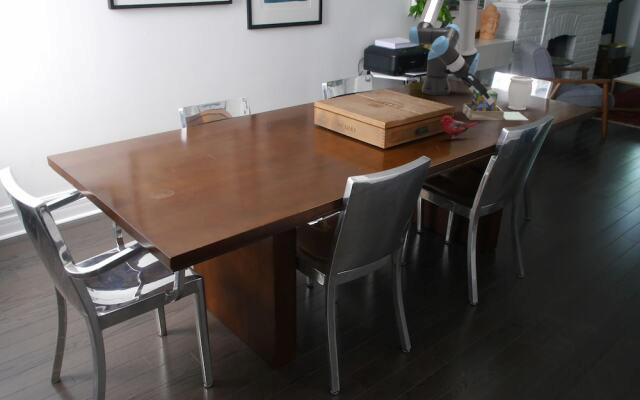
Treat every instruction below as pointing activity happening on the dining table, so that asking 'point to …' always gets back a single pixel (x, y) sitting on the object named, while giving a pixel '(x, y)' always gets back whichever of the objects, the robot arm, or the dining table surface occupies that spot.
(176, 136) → the dining table surface
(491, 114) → the pale wooden box
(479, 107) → the chalk box
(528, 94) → the jar
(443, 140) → the dining table surface
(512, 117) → the sage-grey mat
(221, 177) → the dining table surface
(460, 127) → the decorative bird figurine
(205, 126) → the dining table surface
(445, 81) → the robot arm
